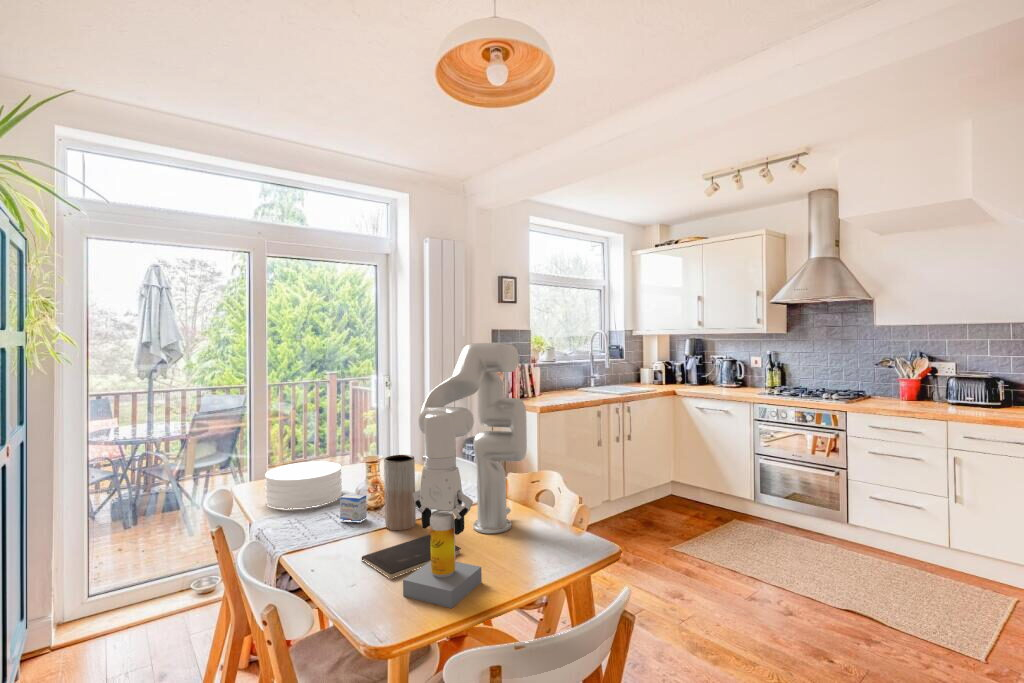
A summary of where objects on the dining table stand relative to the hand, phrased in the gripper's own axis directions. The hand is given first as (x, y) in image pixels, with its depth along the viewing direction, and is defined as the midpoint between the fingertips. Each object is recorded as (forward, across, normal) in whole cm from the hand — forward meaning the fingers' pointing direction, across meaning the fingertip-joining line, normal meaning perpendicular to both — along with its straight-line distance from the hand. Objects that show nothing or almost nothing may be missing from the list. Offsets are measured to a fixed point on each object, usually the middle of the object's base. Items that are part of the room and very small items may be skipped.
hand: (442, 529), depth 131 cm
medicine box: (+16, -56, +27) cm, 64 cm away
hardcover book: (+16, -19, +11) cm, 27 cm away
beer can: (+11, 0, -1) cm, 11 cm away
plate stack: (+16, -92, +39) cm, 101 cm away
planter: (+16, -38, +30) cm, 51 cm away
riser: (+15, 0, -1) cm, 15 cm away
